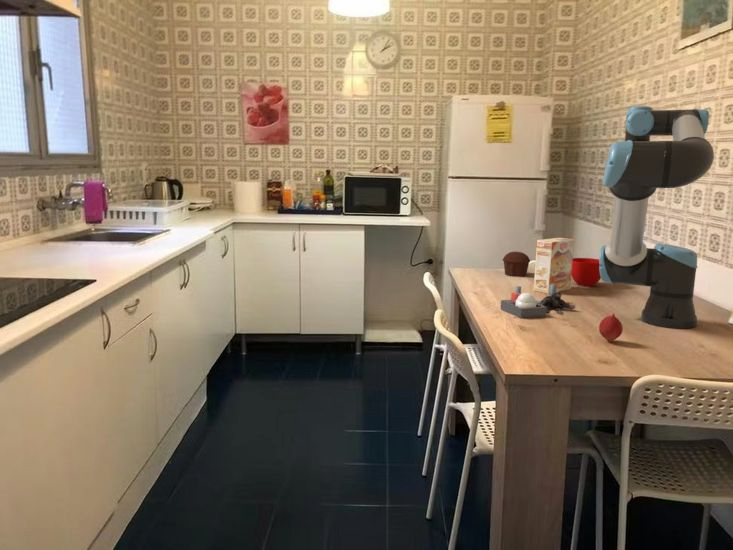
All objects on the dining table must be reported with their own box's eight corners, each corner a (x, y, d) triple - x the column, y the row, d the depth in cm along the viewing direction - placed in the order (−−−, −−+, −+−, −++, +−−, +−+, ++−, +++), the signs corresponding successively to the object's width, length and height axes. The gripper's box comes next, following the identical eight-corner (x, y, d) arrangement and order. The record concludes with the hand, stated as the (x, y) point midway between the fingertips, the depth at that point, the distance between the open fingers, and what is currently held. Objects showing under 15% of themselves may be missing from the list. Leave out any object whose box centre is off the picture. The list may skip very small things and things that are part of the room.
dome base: (545, 316, 183) (547, 299, 182) (520, 318, 181) (522, 301, 180) (524, 307, 194) (525, 291, 193) (500, 309, 192) (501, 293, 191)
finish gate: (556, 302, 203) (557, 285, 202) (517, 305, 198) (518, 287, 197) (552, 300, 205) (553, 283, 204) (513, 303, 200) (514, 286, 199)
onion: (594, 341, 157) (596, 312, 156) (603, 337, 161) (606, 309, 160) (615, 346, 153) (618, 316, 152) (624, 341, 157) (627, 313, 156)
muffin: (532, 274, 255) (534, 251, 253) (524, 278, 246) (526, 254, 244) (506, 271, 261) (507, 249, 260) (497, 275, 252) (499, 252, 250)
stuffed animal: (533, 309, 189) (541, 283, 196) (536, 329, 195) (543, 303, 202) (571, 313, 183) (577, 286, 191) (572, 333, 190) (578, 307, 197)
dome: (539, 313, 184) (541, 294, 183) (522, 315, 182) (523, 295, 181) (528, 309, 190) (529, 290, 189) (511, 310, 188) (512, 291, 187)
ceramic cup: (617, 289, 226) (619, 264, 224) (571, 287, 228) (573, 262, 227) (608, 283, 238) (611, 258, 237) (565, 281, 241) (567, 257, 239)
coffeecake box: (548, 294, 216) (552, 241, 212) (532, 290, 221) (535, 239, 218) (571, 289, 225) (575, 238, 222) (554, 286, 231) (558, 237, 227)
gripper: (660, 156, 185) (652, 230, 190) (630, 156, 197) (623, 226, 202) (641, 155, 183) (634, 230, 187) (612, 156, 195) (605, 226, 199)
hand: (628, 228), depth 195 cm, fingers closed
